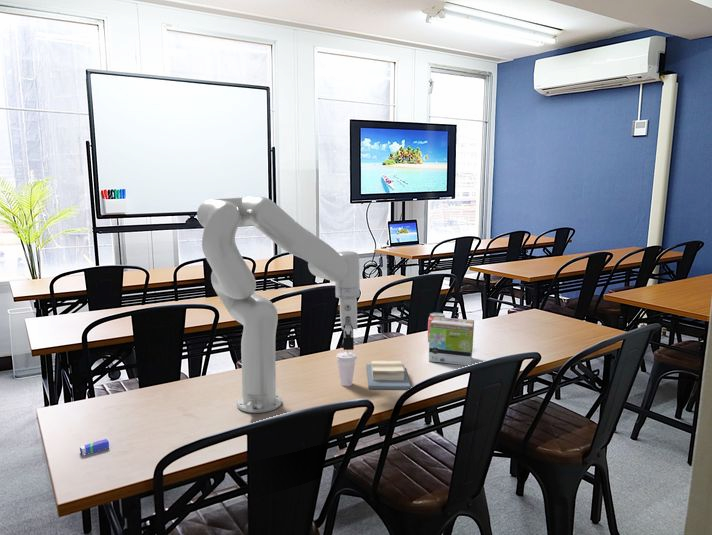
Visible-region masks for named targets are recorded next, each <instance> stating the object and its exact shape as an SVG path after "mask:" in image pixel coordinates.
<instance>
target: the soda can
mask: <svg viewBox="0 0 712 535" xmlns="http://www.w3.org/2000/svg"><path fill="white" fill-rule="evenodd" d="M434 317H444V318H446V315H445V313H442V312H431V313H429V316H428V321H427V342H428V343H429V341H430V324H431V322H432V320H433V318H434Z"/></svg>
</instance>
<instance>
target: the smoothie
mask: <svg viewBox="0 0 712 535" xmlns="http://www.w3.org/2000/svg"><path fill="white" fill-rule="evenodd" d="M335 358H336V360H337V367H338V374H339V376H338V377H339V384H340V386H341V387H350V386H352V385H353V381H354V373H355V372H354V371H355V366H356V360H357V358H358V357H357V354H356V353H354V352H351V351H350V350H346V351H341V352H338V353H336V357H335Z"/></svg>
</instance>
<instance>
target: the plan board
mask: <svg viewBox="0 0 712 535" xmlns="http://www.w3.org/2000/svg"><path fill="white" fill-rule="evenodd" d="M402 366H403V369H404V380H373V378H372V370H371V363H367V364H366V366H365V367H366V376H367V386H368V389H369V390H409V389H408V388H410V389H411V383H410V381H409V377H408V375H407V370H406V368H405V364H403V363H402Z"/></svg>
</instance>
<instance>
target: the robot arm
mask: <svg viewBox="0 0 712 535" xmlns="http://www.w3.org/2000/svg"><path fill="white" fill-rule="evenodd" d="M196 217H197V221H198V223H199V224H200V225H201V226H202V227H203V233H202V240H201V246H202V252H203V255H204V257H205V260H206V261H207V263H208V264H209V266H210V268H211V274H210V280H211V284H212V285H211V286H212V287H213V289H214V291H215V293H216V295H217V296H218V298H219V299H220V301H221V302H222V304H223V306H224V307H225V309H226V310H227V311H228V313H229V315H230V316H231V317H232V318H233V319H234V320H235V321H236V322H238V323H239V324H240V325H242V326H243V330H242V336H241V341H240V347H241V348H240V350H241V351H240V353H241V355H240V356H241V390H242V392H241V393H242V396H240V397H239V398H238V399H237V401H236V406H237V408H238V409H239V410H240V411H242V412H245V413H251V414H261V413H268V412H271V411H274V410H276V409H278V408H279V407H281V405H282V397H281V396H280V395H278V394H277V386H276V384H277V383H276V382H277V379H276V378H277V377H276V376H277V374H276V372H277V371H276V370H277V369H276V367H277V366H276V365H277V364H276V363H277V362H276V334H277V326H278V320H279V317H278V314H279V313H278V311H277V310H278V309H277V308H276V306H275V304H274V303H273V302H272V301H271V300H269V299H268V298H266V297H265V296H262V295H259V294H257V293H256V292H255V291H256V288H257V283H256V282H257V281H256V278H255V275H254V273H253V272H252V270H251V269H250V267H249V266H248V264H247V263H246V261H245V259H244V258H243V255H242V254H241V252H240V250H239V248H238V245H237V244H236V233H237V230H238V228H242V227H249V226H250V227H255V228H256V229H257V230H259V232H261V233H262V234H264V235H265V236H266V237H268V238H269V239H270V240H271V241H272V242H274V243H275V244H276V245H277V246H278V247H279V248H281V250H283V251H285V252H287V253H289V254H290V255H292V256H295V257H297V258H300V259H302V260H304V261H305V262H306V263H307V266H308V270H309V272H310V273H311V275H313V276H315V277H317V278H320V279H323V280H328V281H330V282H334V284H335V285H334V286H335V287H334V288H335V290H334V292H335V298H337V299H339V316H340V325H341V326H340V327H341V330H342V331H343V332H342V333H343V336H342V350H344V351H345V350H346V351H347V350H349V351H353V350H354V345H355V344H354V343H355V342H354V330H358V301H357V298H359V297H360V295H361V294H360V293H361V292H360V291H361V290H360V283H361V282H360V256H359V254H358V253H357V252H355V251H348V250H347V251H339V252H338V251H336V249H334V247H332V246H331V245H330V244H328V243H327V242H325V241H324V240H323V239H321V238H319V237H318V236H316V235H315V234H314V233H312V232H311V231H310V230H308V229H307V228H305V227H303V226H302V225H301V224H300V223H299V222H297V221H296V220H295V219H294V218H293V217H292V216H290V215H289V213H287V212H286V211H285V210H284V209H282V207H280V206H279V205H278V204H277V203H275V202H274V201H273V199H270V198H267V197H264V196H241V197H239V196H238V197H226V198H211V199H206V200H204V201H203V202H202V203H201V204H200V205H199V207H198V209H197V212H196Z"/></svg>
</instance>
